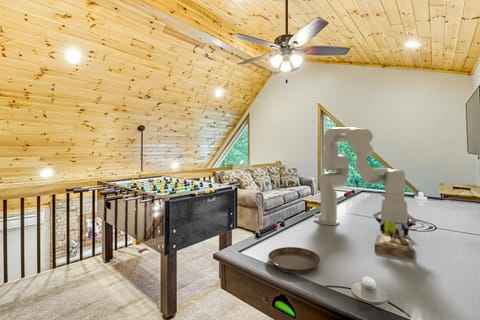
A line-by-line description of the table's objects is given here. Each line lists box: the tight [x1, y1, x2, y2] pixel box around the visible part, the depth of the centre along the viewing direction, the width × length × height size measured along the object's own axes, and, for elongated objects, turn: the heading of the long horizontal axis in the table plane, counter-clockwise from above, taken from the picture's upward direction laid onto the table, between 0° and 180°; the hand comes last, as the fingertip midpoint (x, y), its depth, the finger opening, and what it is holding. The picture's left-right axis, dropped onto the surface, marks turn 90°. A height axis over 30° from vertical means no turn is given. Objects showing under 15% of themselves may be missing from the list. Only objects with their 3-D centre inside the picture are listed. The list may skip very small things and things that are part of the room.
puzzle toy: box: [380, 218, 410, 238], centre depth 135 cm, size 10×10×10 cm
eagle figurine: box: [384, 229, 409, 246], centre depth 111 cm, size 8×7×9 cm
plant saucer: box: [267, 246, 321, 275], centre depth 100 cm, size 21×21×3 cm
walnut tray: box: [374, 234, 414, 260], centre depth 113 cm, size 14×14×4 cm
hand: (393, 234), depth 113 cm, fingers open, 8 cm apart
